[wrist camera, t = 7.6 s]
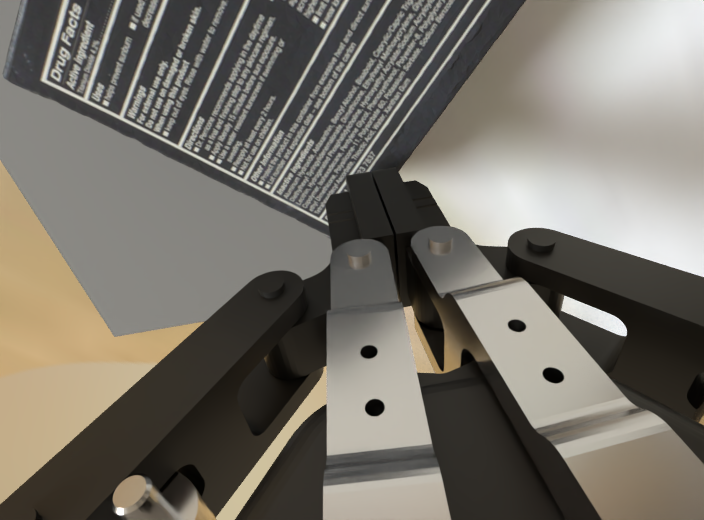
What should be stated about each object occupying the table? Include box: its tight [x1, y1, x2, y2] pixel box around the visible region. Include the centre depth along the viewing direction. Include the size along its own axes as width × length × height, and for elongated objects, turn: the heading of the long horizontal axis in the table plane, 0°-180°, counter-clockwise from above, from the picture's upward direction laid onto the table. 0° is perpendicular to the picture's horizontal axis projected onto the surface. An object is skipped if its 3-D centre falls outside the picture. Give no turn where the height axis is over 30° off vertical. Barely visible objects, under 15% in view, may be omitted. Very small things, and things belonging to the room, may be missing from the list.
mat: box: [0, 0, 332, 337], centre depth 19 cm, size 15×20×1 cm
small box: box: [2, 0, 526, 239], centre depth 13 cm, size 11×6×10 cm
